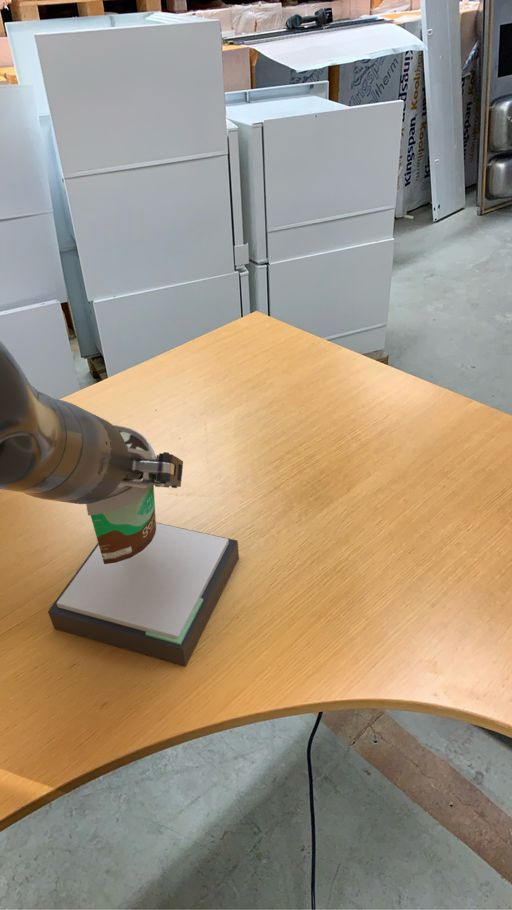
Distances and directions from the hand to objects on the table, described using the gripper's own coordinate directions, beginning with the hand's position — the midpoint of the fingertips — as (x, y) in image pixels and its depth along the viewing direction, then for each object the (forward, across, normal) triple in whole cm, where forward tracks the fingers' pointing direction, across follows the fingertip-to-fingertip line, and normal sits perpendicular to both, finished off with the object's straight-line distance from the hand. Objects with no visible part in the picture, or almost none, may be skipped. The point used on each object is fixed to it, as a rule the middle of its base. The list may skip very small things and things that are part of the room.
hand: (132, 474), depth 67 cm
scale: (+11, 0, +13) cm, 16 cm away
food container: (+4, 0, +6) cm, 7 cm away
